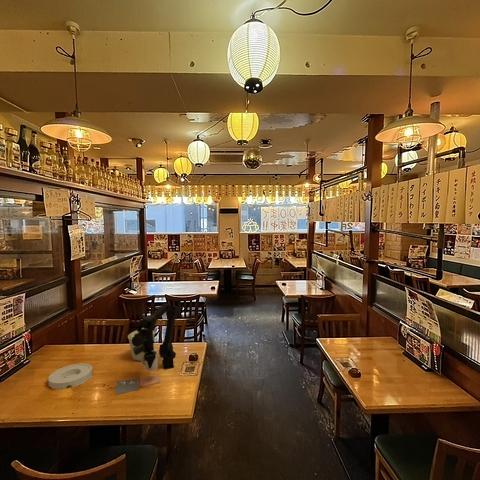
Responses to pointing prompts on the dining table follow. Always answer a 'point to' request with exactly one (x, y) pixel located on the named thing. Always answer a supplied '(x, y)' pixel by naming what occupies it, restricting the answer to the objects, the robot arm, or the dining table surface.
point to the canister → (139, 356)
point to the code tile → (127, 385)
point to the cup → (154, 365)
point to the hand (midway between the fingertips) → (149, 365)
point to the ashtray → (70, 376)
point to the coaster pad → (149, 380)
